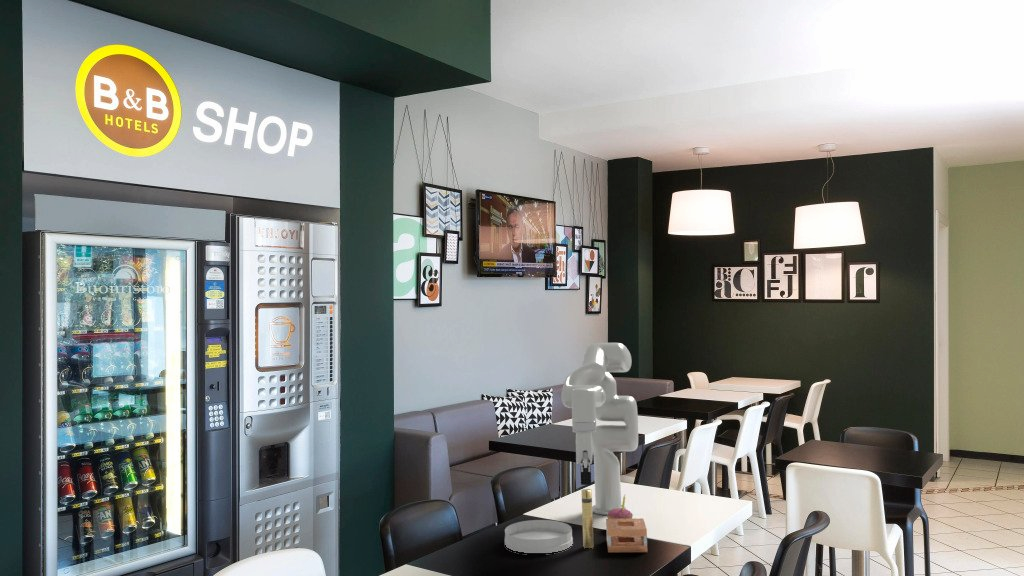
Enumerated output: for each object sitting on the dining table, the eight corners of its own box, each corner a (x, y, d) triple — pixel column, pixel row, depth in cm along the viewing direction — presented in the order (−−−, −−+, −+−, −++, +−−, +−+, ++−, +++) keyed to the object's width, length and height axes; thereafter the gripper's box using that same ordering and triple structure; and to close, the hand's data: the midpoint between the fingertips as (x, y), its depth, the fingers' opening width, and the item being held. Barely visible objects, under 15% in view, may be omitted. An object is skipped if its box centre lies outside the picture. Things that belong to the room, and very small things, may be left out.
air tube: (583, 545, 244) (581, 489, 244) (593, 545, 243) (591, 488, 244) (583, 549, 240) (581, 491, 241) (593, 549, 240) (591, 491, 241)
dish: (561, 558, 233) (561, 542, 233) (494, 552, 241) (493, 536, 241) (580, 537, 254) (580, 522, 254) (518, 532, 261) (517, 517, 262)
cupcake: (635, 526, 262) (633, 491, 263) (630, 534, 254) (629, 497, 255) (610, 525, 265) (609, 490, 266) (605, 532, 257) (603, 496, 258)
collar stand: (606, 540, 248) (606, 518, 249) (644, 540, 247) (643, 518, 248) (608, 552, 236) (607, 529, 237) (647, 552, 235) (646, 529, 236)
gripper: (572, 423, 252) (574, 475, 251) (572, 431, 234) (573, 487, 234) (595, 423, 251) (597, 475, 250) (596, 430, 234) (598, 487, 233)
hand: (585, 481), depth 242 cm, fingers open, 9 cm apart
